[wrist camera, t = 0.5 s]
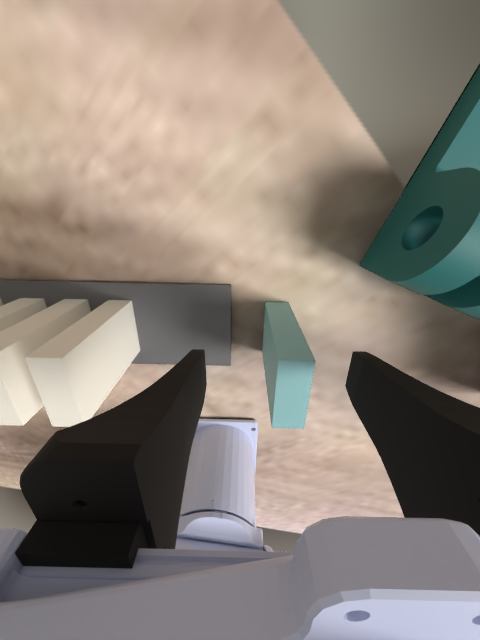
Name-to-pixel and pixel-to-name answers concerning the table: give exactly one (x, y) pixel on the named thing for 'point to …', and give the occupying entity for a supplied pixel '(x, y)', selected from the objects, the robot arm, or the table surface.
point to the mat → (151, 313)
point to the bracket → (439, 216)
